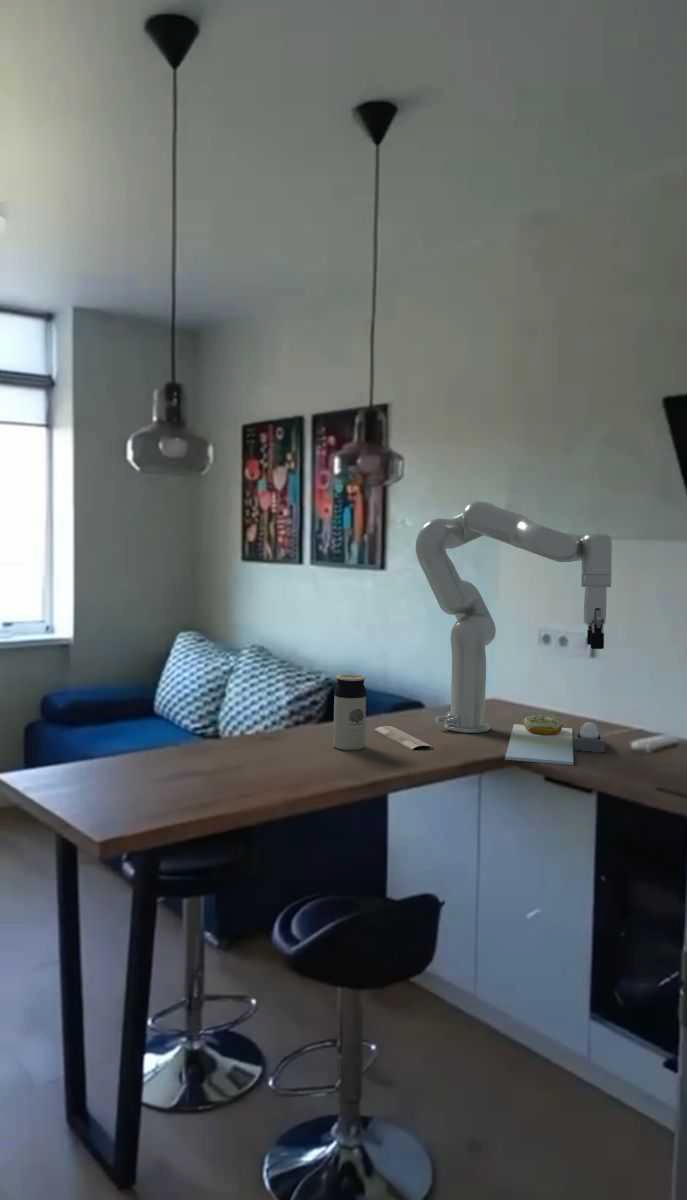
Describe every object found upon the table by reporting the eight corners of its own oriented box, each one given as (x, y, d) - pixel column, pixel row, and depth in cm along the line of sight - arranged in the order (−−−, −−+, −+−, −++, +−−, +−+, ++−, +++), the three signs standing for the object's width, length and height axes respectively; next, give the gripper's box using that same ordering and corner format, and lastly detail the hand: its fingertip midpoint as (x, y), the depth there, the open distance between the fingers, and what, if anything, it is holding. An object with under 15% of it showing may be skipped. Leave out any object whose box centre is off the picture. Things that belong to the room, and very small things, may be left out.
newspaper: (433, 751, 227) (433, 744, 227) (408, 753, 224) (408, 746, 224) (394, 731, 249) (394, 725, 248) (370, 733, 246) (371, 726, 246)
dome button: (579, 736, 234) (580, 719, 234) (597, 737, 233) (598, 721, 233) (579, 739, 229) (580, 723, 229) (598, 741, 228) (599, 724, 228)
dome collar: (573, 743, 236) (573, 732, 236) (603, 746, 234) (603, 734, 234) (573, 750, 229) (573, 738, 228) (604, 752, 227) (604, 741, 227)
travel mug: (329, 743, 229) (331, 674, 228) (360, 742, 231) (362, 673, 230) (337, 751, 221) (339, 679, 220) (368, 750, 223) (370, 678, 222)
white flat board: (513, 727, 255) (514, 724, 255) (571, 731, 251) (572, 728, 251) (505, 759, 217) (505, 756, 217) (573, 765, 213) (573, 761, 213)
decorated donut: (523, 734, 242) (523, 720, 242) (523, 726, 253) (524, 712, 253) (562, 736, 240) (563, 722, 240) (561, 728, 251) (562, 715, 250)
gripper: (578, 580, 243) (577, 642, 244) (584, 582, 226) (583, 650, 227) (607, 580, 242) (606, 643, 243) (615, 582, 225) (614, 650, 226)
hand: (595, 646), depth 235 cm, fingers open, 9 cm apart
